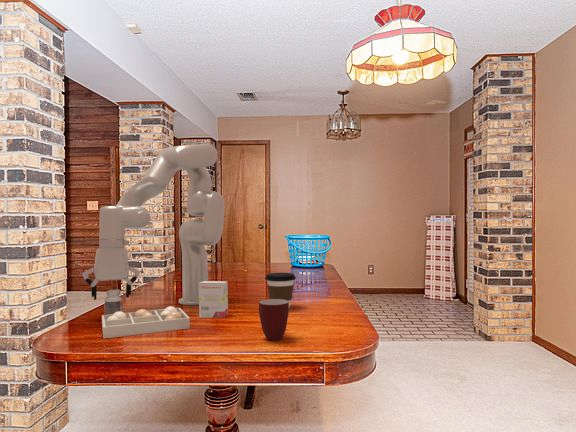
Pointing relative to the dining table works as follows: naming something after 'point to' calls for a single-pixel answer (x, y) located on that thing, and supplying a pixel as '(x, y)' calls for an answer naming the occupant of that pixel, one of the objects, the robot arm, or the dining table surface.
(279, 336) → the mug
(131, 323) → the grey compartment tray
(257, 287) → the dining table surface
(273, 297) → the coffee cup
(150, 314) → the brown egg
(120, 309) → the pill bottle
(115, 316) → the cream egg
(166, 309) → the cream egg
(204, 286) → the ink box
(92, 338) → the dining table surface
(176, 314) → the brown egg
